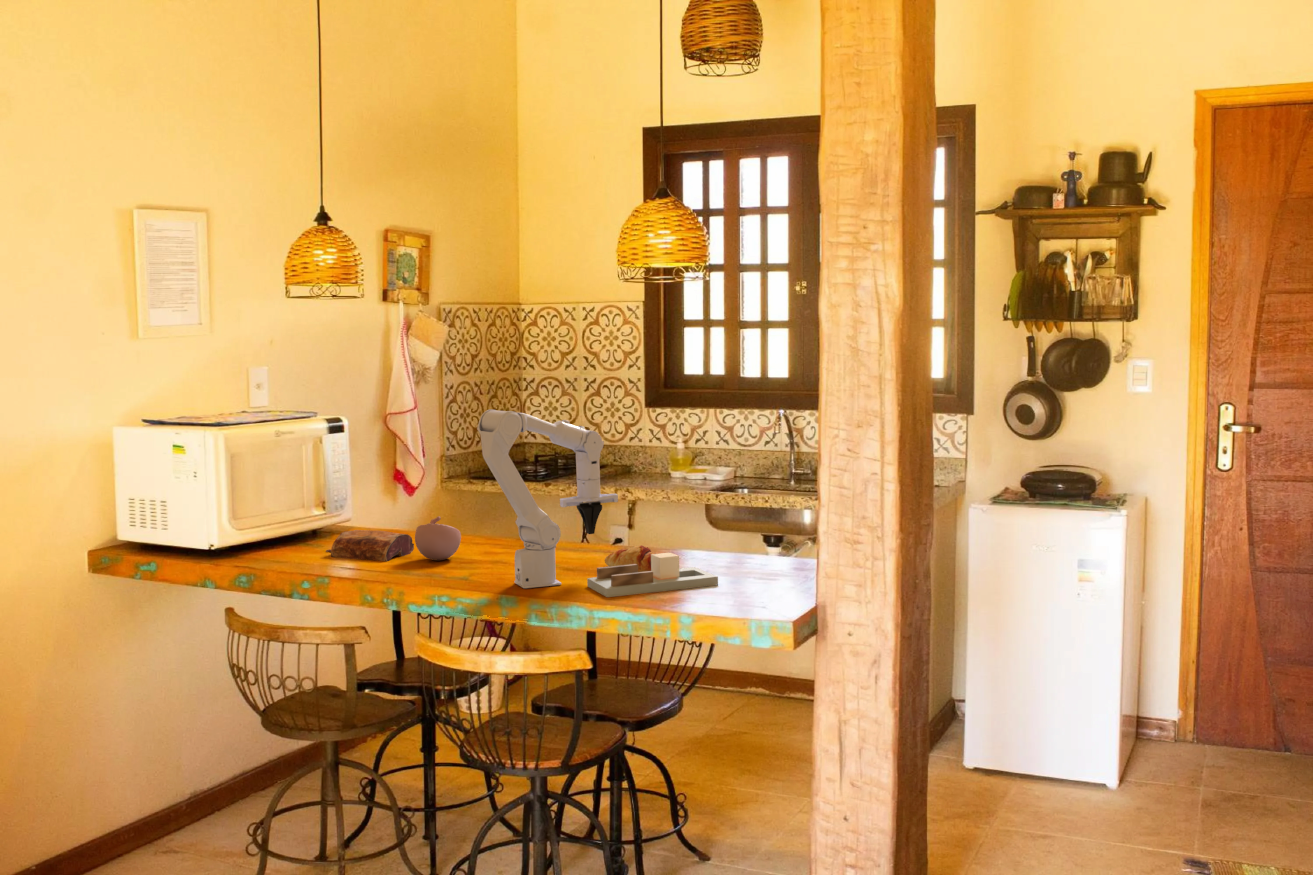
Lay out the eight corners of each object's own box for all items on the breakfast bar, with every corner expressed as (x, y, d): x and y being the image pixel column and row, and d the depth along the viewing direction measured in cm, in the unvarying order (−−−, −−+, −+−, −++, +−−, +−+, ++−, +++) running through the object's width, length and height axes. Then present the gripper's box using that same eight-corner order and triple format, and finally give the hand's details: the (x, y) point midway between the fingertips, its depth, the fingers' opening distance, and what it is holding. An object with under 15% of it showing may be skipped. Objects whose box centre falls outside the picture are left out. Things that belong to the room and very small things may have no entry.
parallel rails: (613, 586, 292) (612, 575, 292) (597, 578, 302) (596, 567, 302) (653, 582, 296) (653, 571, 296) (636, 574, 306) (636, 563, 306)
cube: (660, 578, 300) (659, 557, 299) (651, 575, 304) (650, 554, 304) (679, 576, 302) (679, 555, 301) (670, 572, 306) (669, 552, 306)
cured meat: (348, 545, 365) (346, 521, 364) (423, 550, 355) (421, 525, 354) (308, 558, 348) (306, 534, 347) (386, 563, 339) (384, 538, 338)
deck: (606, 597, 291) (606, 588, 290) (587, 586, 303) (587, 578, 302) (718, 584, 301) (717, 576, 301) (695, 574, 313) (695, 566, 313)
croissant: (598, 581, 325) (587, 556, 321) (620, 557, 331) (609, 532, 328) (663, 589, 312) (653, 563, 308) (685, 564, 318) (675, 538, 315)
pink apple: (466, 555, 345) (464, 513, 343) (455, 564, 333) (453, 520, 332) (422, 555, 346) (421, 513, 345) (410, 564, 334) (408, 521, 333)
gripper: (565, 483, 307) (567, 538, 308) (621, 478, 312) (623, 532, 314) (556, 479, 313) (558, 534, 315) (611, 474, 319) (613, 528, 320)
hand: (590, 533), depth 315 cm, fingers closed
